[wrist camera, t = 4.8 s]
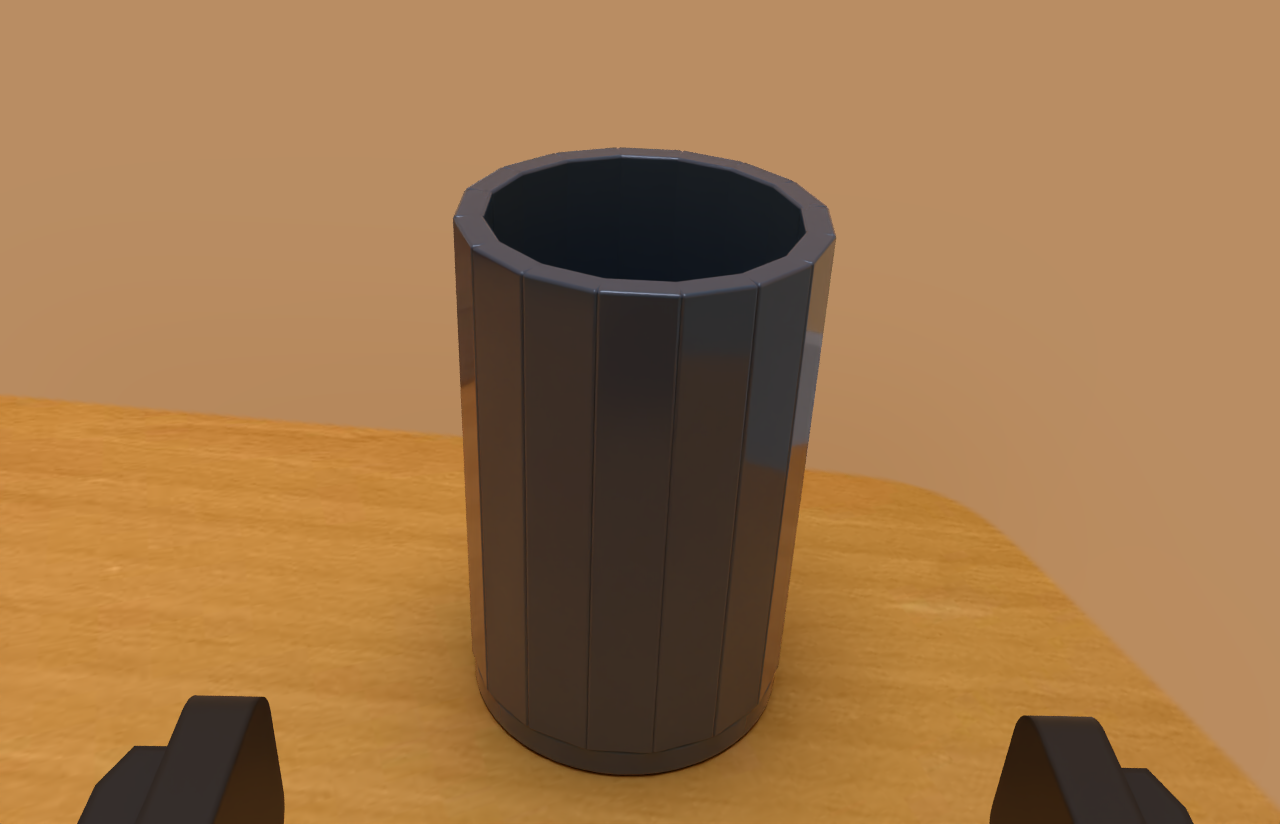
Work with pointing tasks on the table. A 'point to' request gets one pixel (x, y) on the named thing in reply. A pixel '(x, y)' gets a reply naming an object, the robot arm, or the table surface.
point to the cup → (634, 444)
